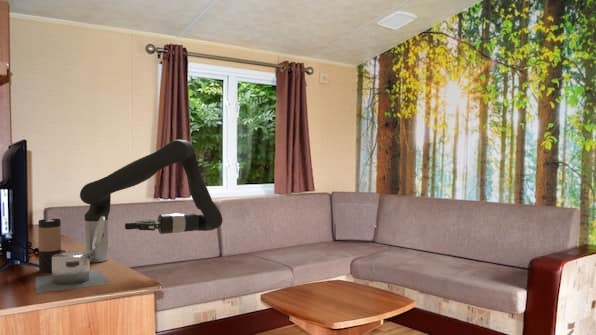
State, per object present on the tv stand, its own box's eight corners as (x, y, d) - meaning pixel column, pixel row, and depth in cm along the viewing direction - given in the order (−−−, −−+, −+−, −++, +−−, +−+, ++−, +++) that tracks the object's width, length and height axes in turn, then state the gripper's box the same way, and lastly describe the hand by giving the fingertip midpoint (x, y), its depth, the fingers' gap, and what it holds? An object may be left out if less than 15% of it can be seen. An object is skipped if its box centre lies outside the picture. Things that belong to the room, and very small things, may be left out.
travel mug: (51, 275, 175) (51, 221, 175) (33, 273, 177) (33, 221, 176) (65, 270, 183) (65, 219, 182) (48, 269, 184) (48, 218, 184)
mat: (35, 278, 170) (35, 277, 170) (100, 271, 181) (100, 270, 181) (35, 294, 151) (35, 292, 151) (108, 285, 162) (108, 284, 162)
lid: (98, 213, 176) (105, 214, 177) (87, 250, 175) (94, 251, 176) (103, 217, 165) (110, 219, 166) (92, 257, 163) (99, 258, 165)
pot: (51, 277, 170) (50, 252, 170) (89, 273, 177) (89, 249, 177) (53, 288, 156) (52, 261, 156) (94, 283, 163) (94, 257, 162)
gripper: (167, 212, 189) (122, 214, 180) (176, 216, 178) (128, 218, 169) (167, 230, 189) (122, 233, 181) (176, 235, 178) (128, 239, 169)
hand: (125, 226), depth 175 cm, fingers closed
